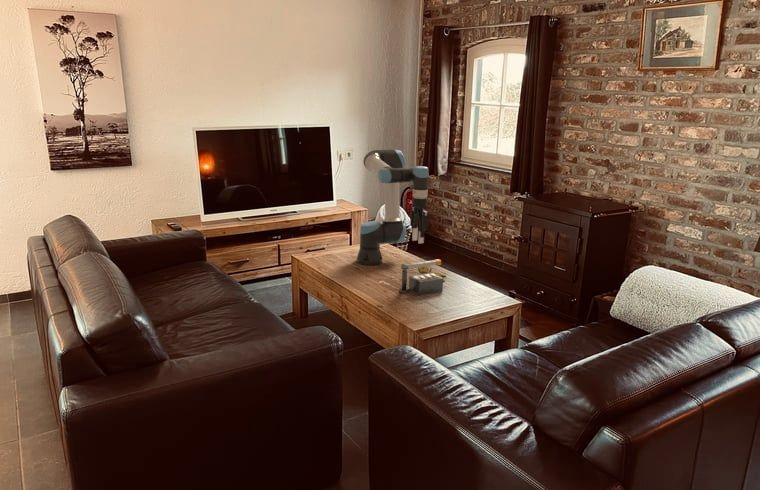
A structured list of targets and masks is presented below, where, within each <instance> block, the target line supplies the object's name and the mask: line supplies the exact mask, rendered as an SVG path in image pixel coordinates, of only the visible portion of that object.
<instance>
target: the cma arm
mask: <svg viewBox="0 0 760 490" xmlns="http://www.w3.org/2000/svg"><path fill="white" fill-rule="evenodd" d="M441 265H442V259H438V258H437V259H433V260H426V261H419V262H412V263H403V264H401V265H400V269H401V270H407V271H408V270H411V269H418V268H419V267H426V266H429V267H431V266H441Z"/></svg>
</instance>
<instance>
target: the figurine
mask: <svg viewBox="0 0 760 490" xmlns="http://www.w3.org/2000/svg"><path fill="white" fill-rule="evenodd" d="M432 270H433V268H432V267H430V266H426V267H419V268H417V271H418V273H419V274H427V273H432ZM433 273H434V274H436V275H438V276H440V277H446V276H447V274H442V273H441V272H439V271H438V272H437V271H435V272H433ZM445 281H446V279H445V278H443V282H445Z"/></svg>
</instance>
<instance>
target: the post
mask: <svg viewBox="0 0 760 490" xmlns="http://www.w3.org/2000/svg"><path fill="white" fill-rule="evenodd" d="M401 271H402V273H401V288H399V289H398V292H399V293H401V294H409V292H410V290H409V288H407V281H408V279H407V277H408V269H407V270H403V269H401Z"/></svg>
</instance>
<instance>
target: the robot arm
mask: <svg viewBox="0 0 760 490" xmlns="http://www.w3.org/2000/svg"><path fill="white" fill-rule="evenodd" d="M362 161H363V166H364V167H365V169H366V170H368V172H373V173H374V174H376V175H377V177H378V178H377V179H378V182H379V183H380V184H384V188H383V189H384V218H383V219H382V223H381V222H380V221H377V220H371V221H365V222H363V223H362V224H361V225H360V228H359V249H358V253H357V256H356V263H358V264H360V265H364V266H376V265H377V266H378V265H380V264H382V263H383V255H382V252H381V245H383V244H384V245H386V244H387V245H388V244H399V243H402V242H404V241H405V239H406V235H407V225H406V223H404V222H403V219H402V218H401V215H400V212H401V211H400V208H401V207H400V184H407V183H410V184H412V200H411V204H412V205H413V206H411V207H410V209H409V210H410V219H409V221H410V222H409V225H410V227H411V229H412V235H411V236H412V239H411V241H412V242H414V241H418V242H417V243H418V244H424V243H425V242H424V241H425V231H428V216H429V211H427V210H426V208H425V207H426V206H427V205H428V192H429V191H428V187H429V176H430V175H429V167H427V166H423V165H417V166H407V167H406V160H405V155H404V154H403V151H401V150H399V149H373V150H370V151H369V152H367V153H366V154H365V156H364V157H363V160H362ZM418 225H419V226H418Z"/></svg>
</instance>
